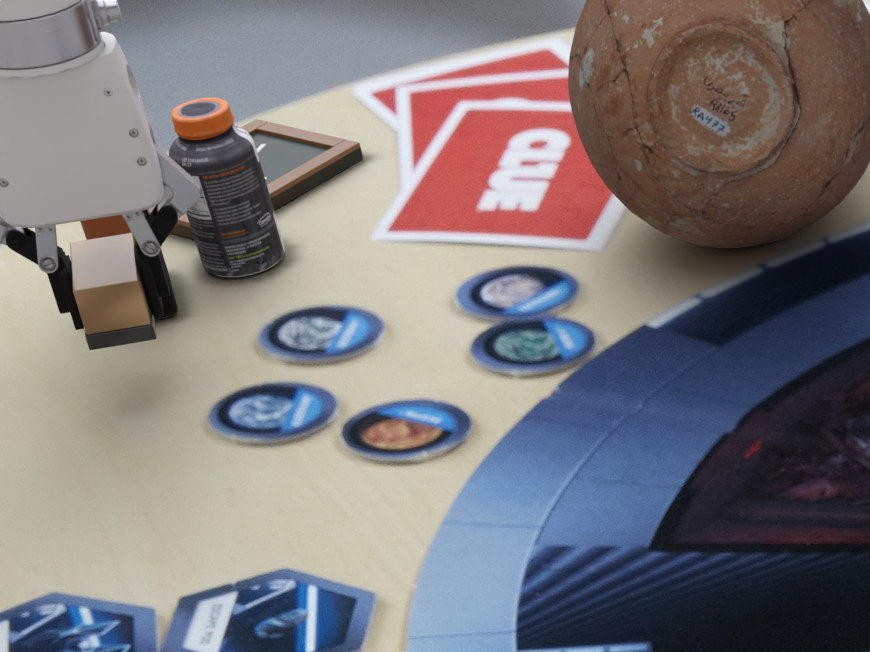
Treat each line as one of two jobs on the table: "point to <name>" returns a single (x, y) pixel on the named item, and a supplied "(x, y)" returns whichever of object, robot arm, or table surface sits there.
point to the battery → (119, 226)
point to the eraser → (110, 292)
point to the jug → (724, 111)
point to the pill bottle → (226, 191)
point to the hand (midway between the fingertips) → (118, 311)
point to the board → (290, 162)
